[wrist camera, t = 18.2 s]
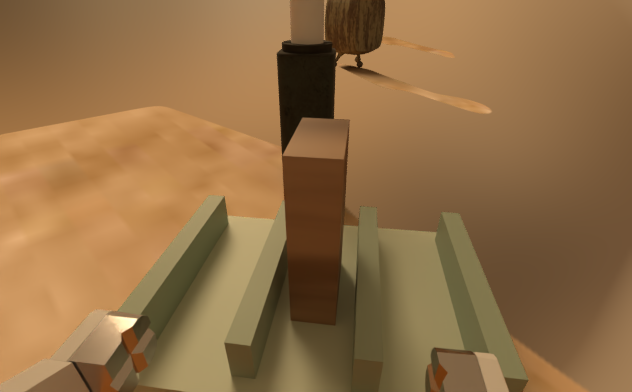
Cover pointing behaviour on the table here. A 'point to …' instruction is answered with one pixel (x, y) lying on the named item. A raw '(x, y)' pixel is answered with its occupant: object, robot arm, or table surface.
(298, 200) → the block
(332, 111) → the candle
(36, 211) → the table surface
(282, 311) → the rack
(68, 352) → the robot arm
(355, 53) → the tabletop clock
